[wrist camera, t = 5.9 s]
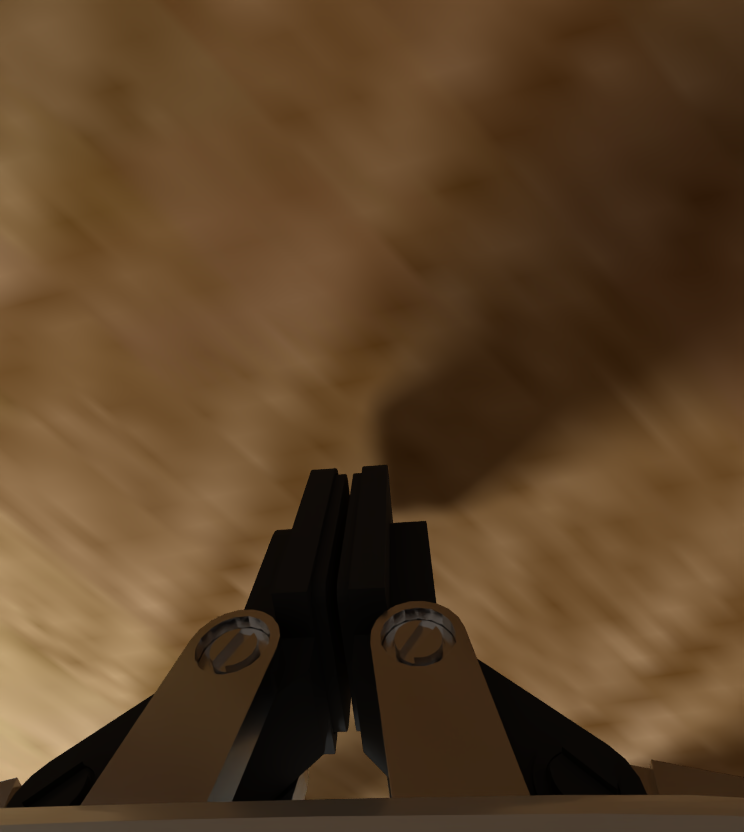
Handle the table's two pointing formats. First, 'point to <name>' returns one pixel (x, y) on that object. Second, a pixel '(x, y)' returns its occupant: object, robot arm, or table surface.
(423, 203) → the table surface
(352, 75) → the table surface
